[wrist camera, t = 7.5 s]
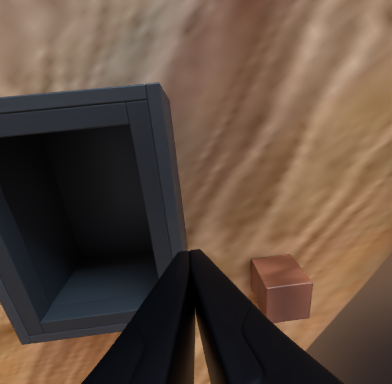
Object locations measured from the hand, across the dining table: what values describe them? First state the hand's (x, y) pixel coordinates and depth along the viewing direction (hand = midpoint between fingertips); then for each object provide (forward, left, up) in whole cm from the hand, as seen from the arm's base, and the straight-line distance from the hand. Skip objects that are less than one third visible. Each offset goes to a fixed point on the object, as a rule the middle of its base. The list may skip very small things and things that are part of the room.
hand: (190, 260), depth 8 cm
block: (-12, +6, -11) cm, 17 cm away
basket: (0, 0, -7) cm, 7 cm away
